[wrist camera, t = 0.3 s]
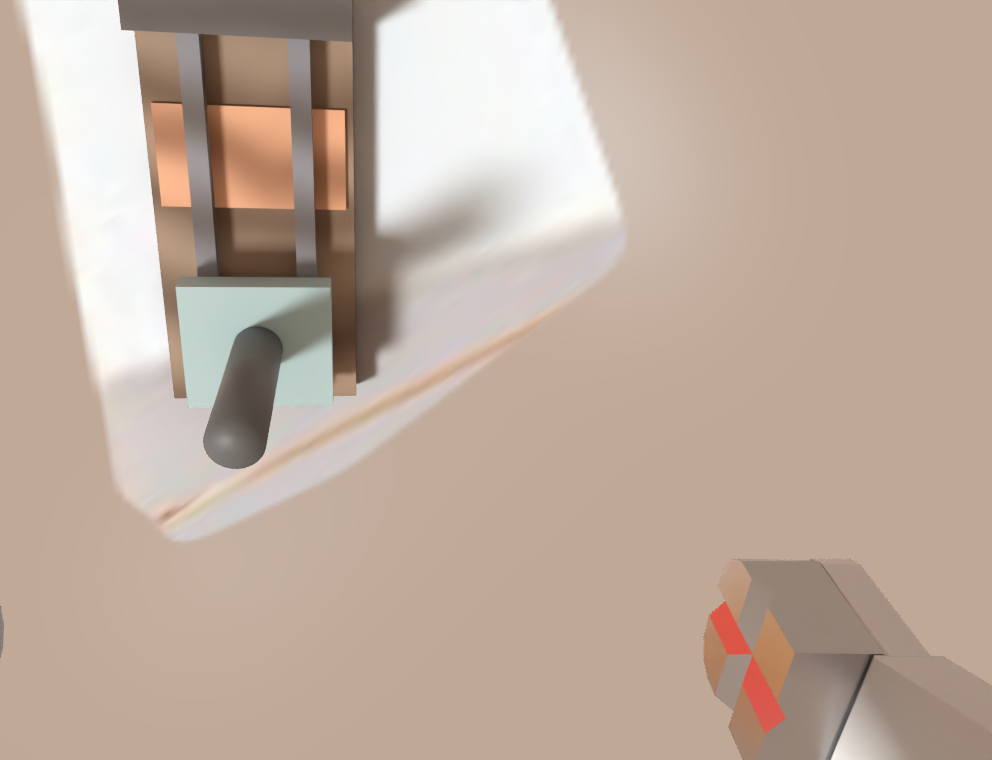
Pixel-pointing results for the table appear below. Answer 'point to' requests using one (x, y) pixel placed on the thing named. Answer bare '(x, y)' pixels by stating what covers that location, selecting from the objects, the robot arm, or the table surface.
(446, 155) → the table surface
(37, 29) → the table surface
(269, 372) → the carriage
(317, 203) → the rail board
